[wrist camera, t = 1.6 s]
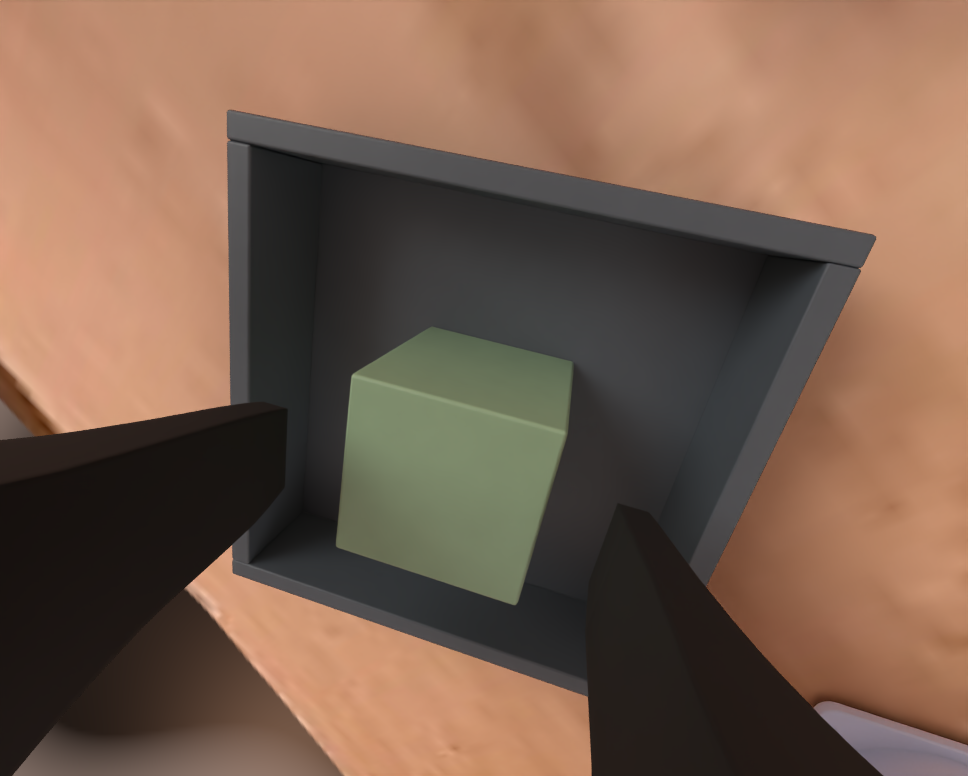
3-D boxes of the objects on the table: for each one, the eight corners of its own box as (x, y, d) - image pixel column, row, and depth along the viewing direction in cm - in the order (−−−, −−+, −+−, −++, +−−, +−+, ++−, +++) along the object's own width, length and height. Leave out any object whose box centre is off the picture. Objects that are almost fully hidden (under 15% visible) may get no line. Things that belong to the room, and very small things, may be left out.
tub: (631, 620, 16) (642, 717, 13) (295, 513, 18) (231, 574, 14) (796, 234, 11) (879, 235, 8) (313, 138, 13) (225, 108, 10)
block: (538, 488, 14) (516, 607, 10) (411, 451, 15) (333, 548, 10) (574, 361, 13) (568, 432, 8) (430, 325, 13) (349, 373, 9)
